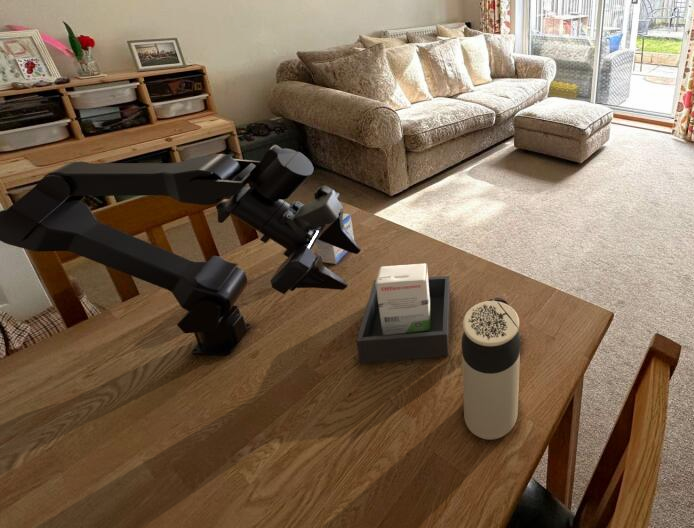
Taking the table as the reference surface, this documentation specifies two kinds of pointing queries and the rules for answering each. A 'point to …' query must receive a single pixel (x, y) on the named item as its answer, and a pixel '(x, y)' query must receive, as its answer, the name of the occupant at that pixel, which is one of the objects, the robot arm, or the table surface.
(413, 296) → the ink box
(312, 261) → the robot arm
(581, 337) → the table surface
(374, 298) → the open storage tray
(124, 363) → the table surface
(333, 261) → the medicine box
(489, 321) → the travel mug
